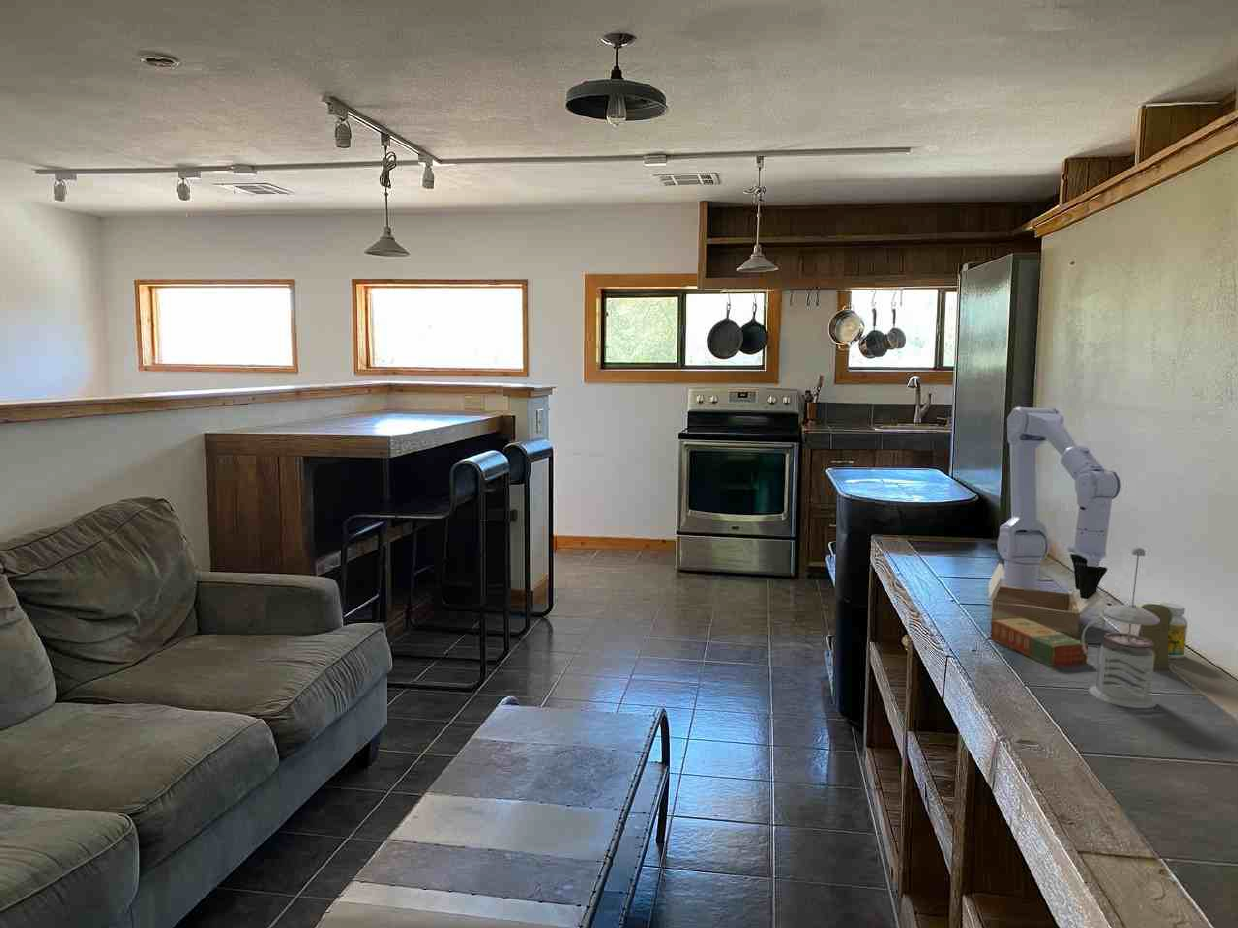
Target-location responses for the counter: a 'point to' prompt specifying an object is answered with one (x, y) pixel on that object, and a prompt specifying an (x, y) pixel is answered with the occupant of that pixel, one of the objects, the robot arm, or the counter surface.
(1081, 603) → the flap
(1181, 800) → the counter surface
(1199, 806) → the counter surface
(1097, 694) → the french press
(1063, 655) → the carton
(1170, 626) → the supplement bottle
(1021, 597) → the kraft box
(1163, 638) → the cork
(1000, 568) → the flap
